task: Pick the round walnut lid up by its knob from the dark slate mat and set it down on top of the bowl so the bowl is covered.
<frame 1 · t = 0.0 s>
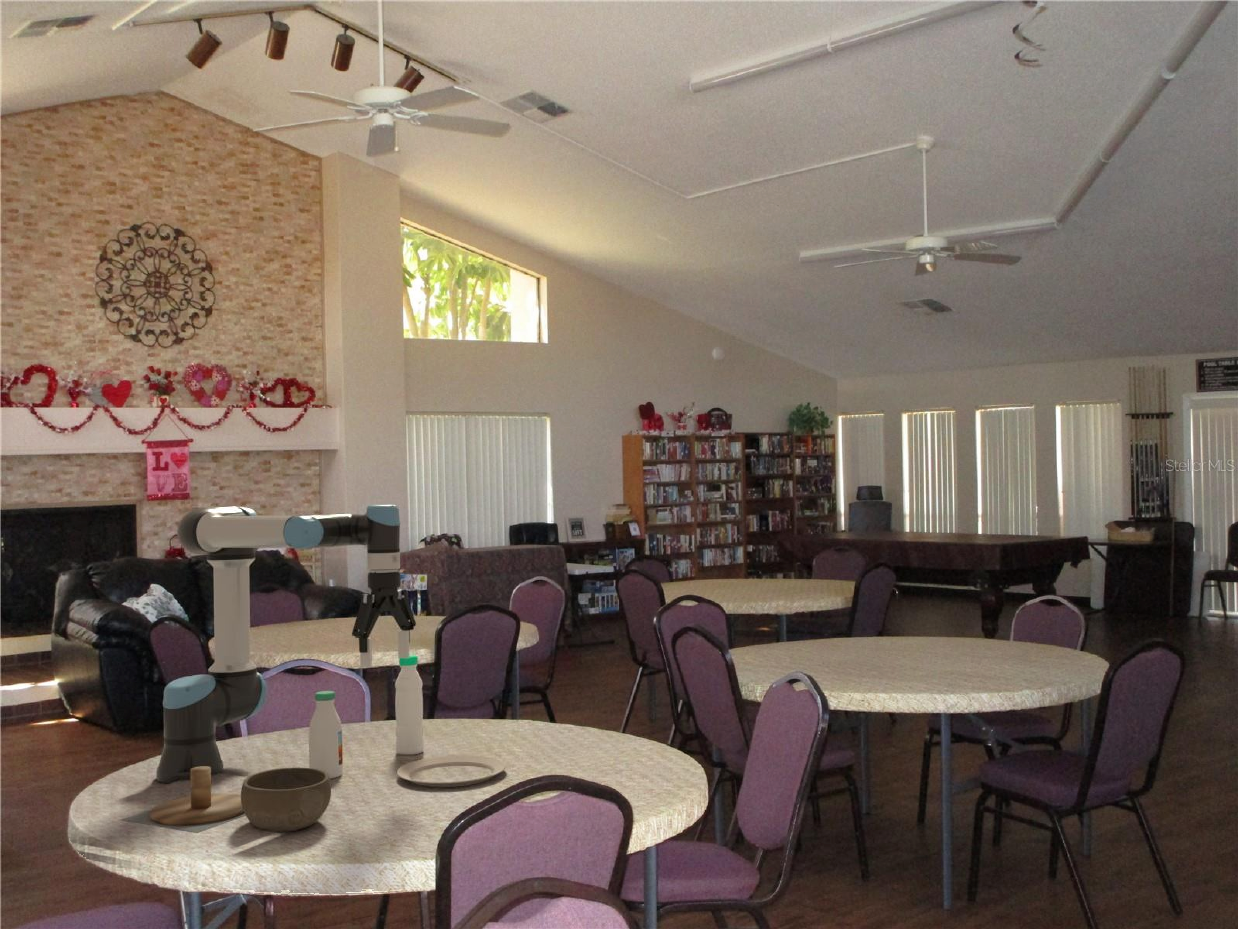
hand: (385, 662, 257), 28 cm above the table, fingers open, 13 cm apart
plate: (451, 777, 262), on the table
lid: (201, 811, 233), point 1 cm above the table, touching mat
bowl: (286, 827, 225), on the table
milk bottle: (326, 777, 264), on the table
water bottle: (409, 753, 287), on the table
mat: (201, 816, 233), on the table
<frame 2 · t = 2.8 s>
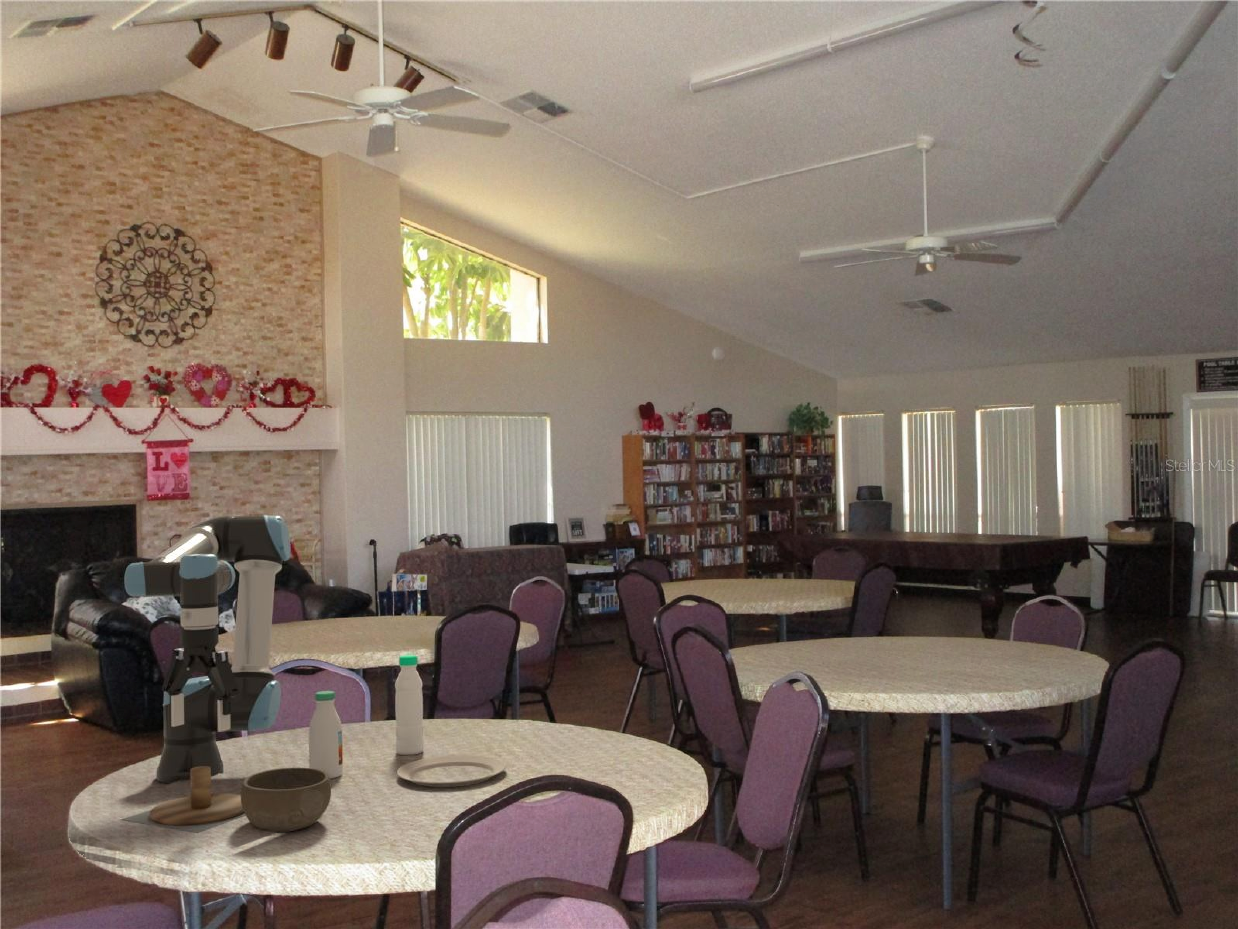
hand: (200, 728, 234), 19 cm above the table, fingers open, 13 cm apart
nothing on the table moved.
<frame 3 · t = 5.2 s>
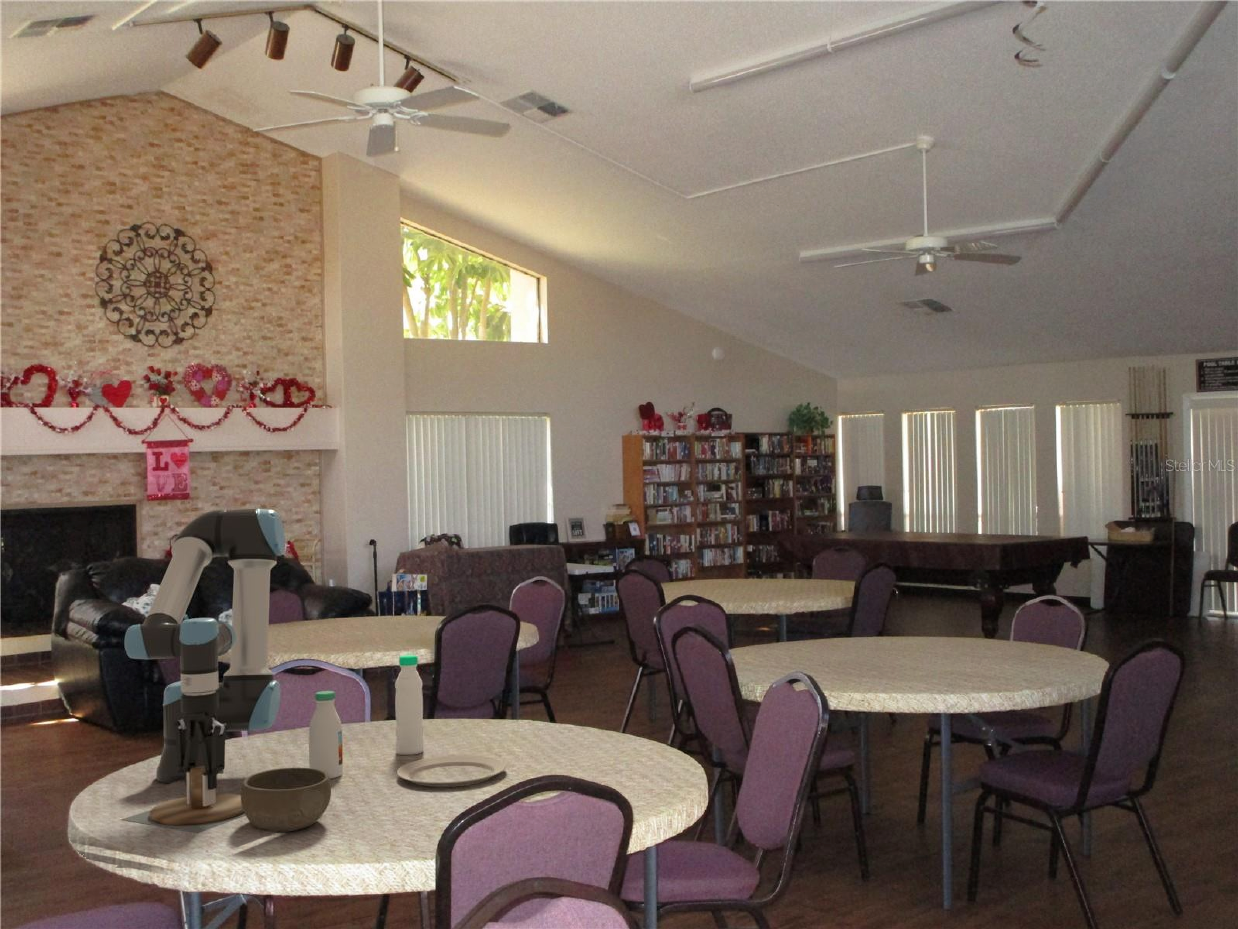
hand: (201, 803, 233), 3 cm above the table, fingers closed on lid, 4 cm apart
lid: (201, 811, 233), point 1 cm above the table, touching gripper, mat
everything else where it was.
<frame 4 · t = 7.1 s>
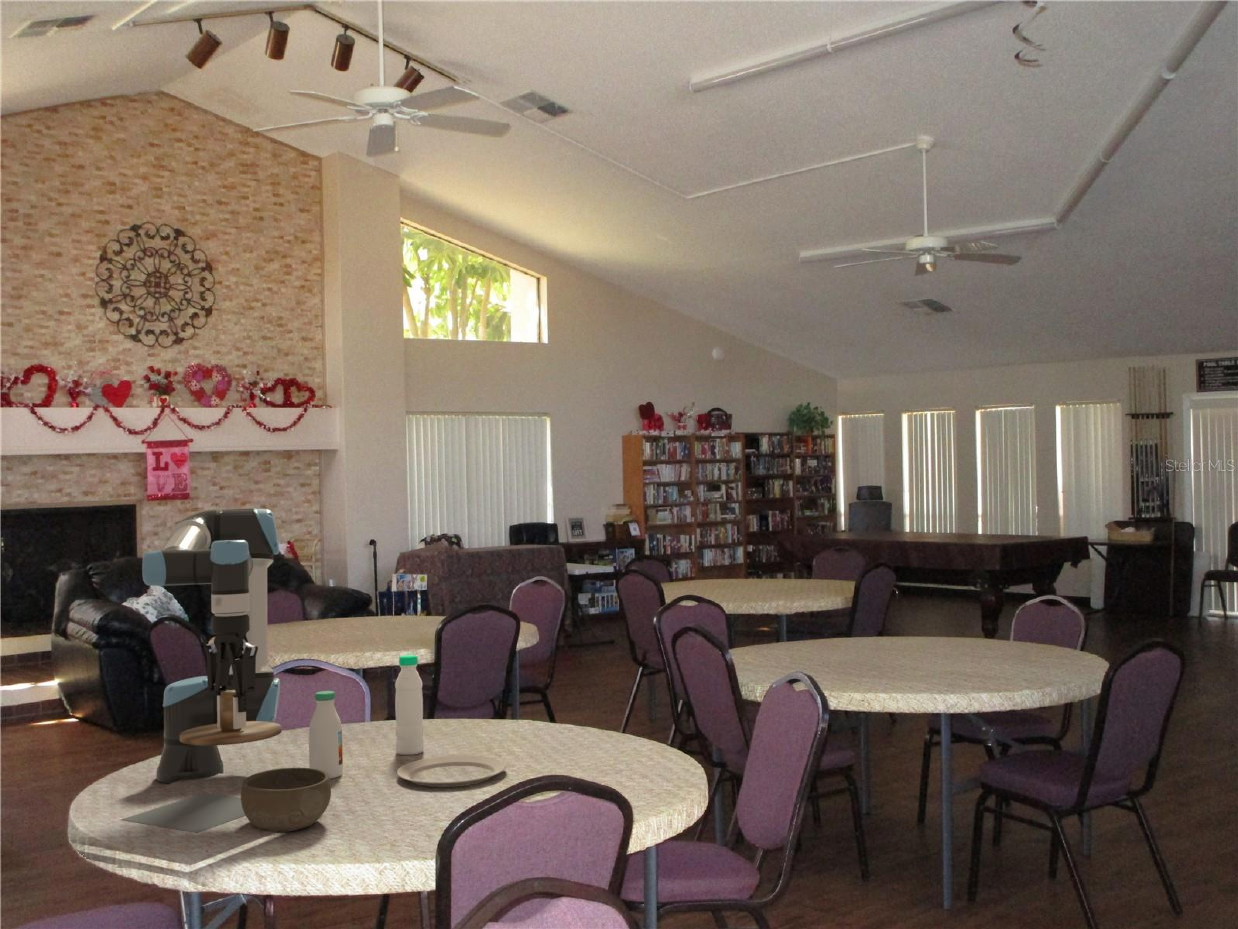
hand: (231, 726, 230), 19 cm above the table, fingers closed on lid, 4 cm apart
lid: (231, 735, 229), point 18 cm above the table, touching gripper
everything else where it was.
when the fingers open (14 cm above the table, at t = 9.3 s): lid drops 2 cm, resting on bowl.
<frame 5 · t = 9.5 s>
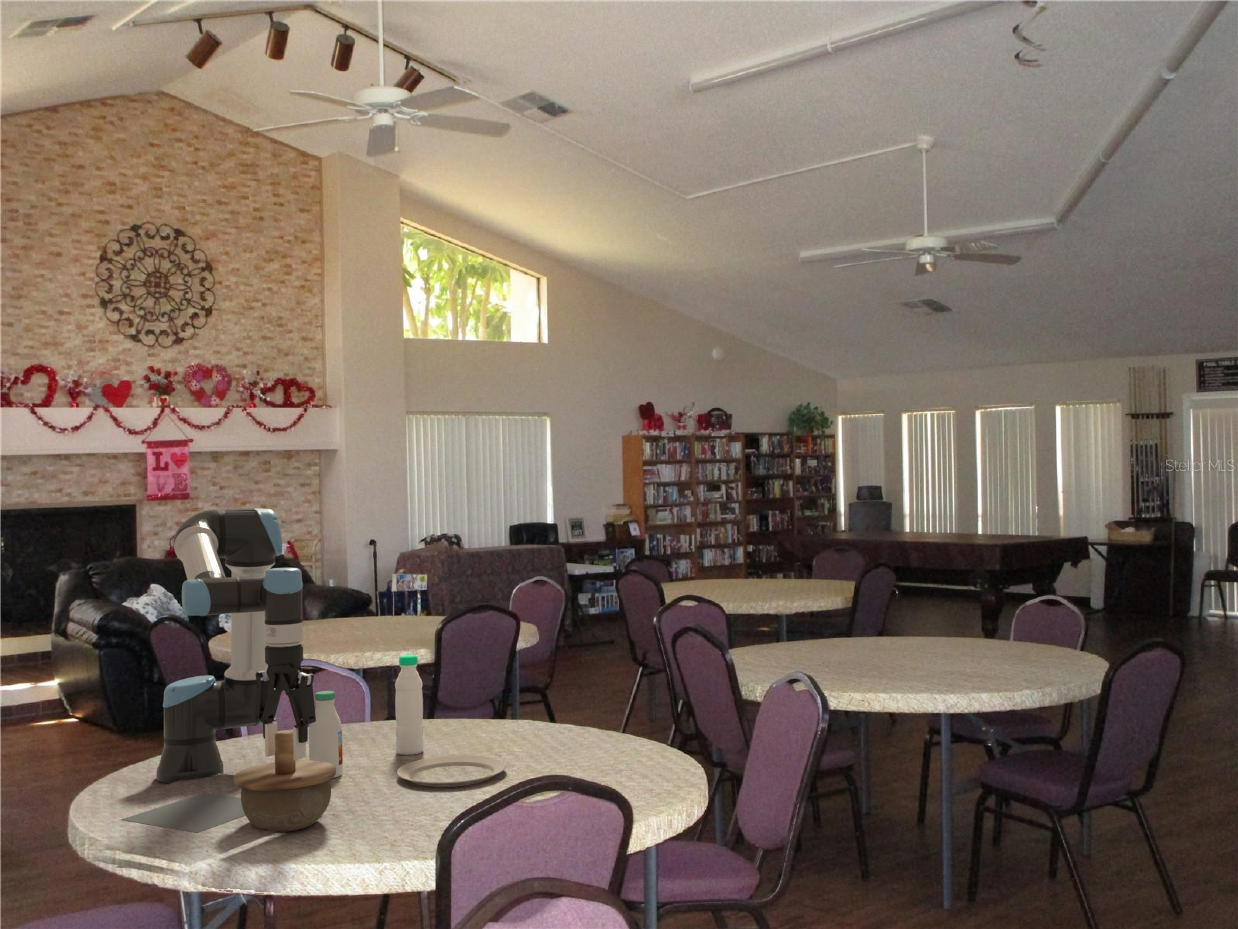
hand: (285, 756, 225), 14 cm above the table, fingers open, 7 cm apart
lid: (285, 777, 225), point 10 cm above the table, touching bowl
bowl: (286, 827, 225), on the table, touching lid
everything else where it was.
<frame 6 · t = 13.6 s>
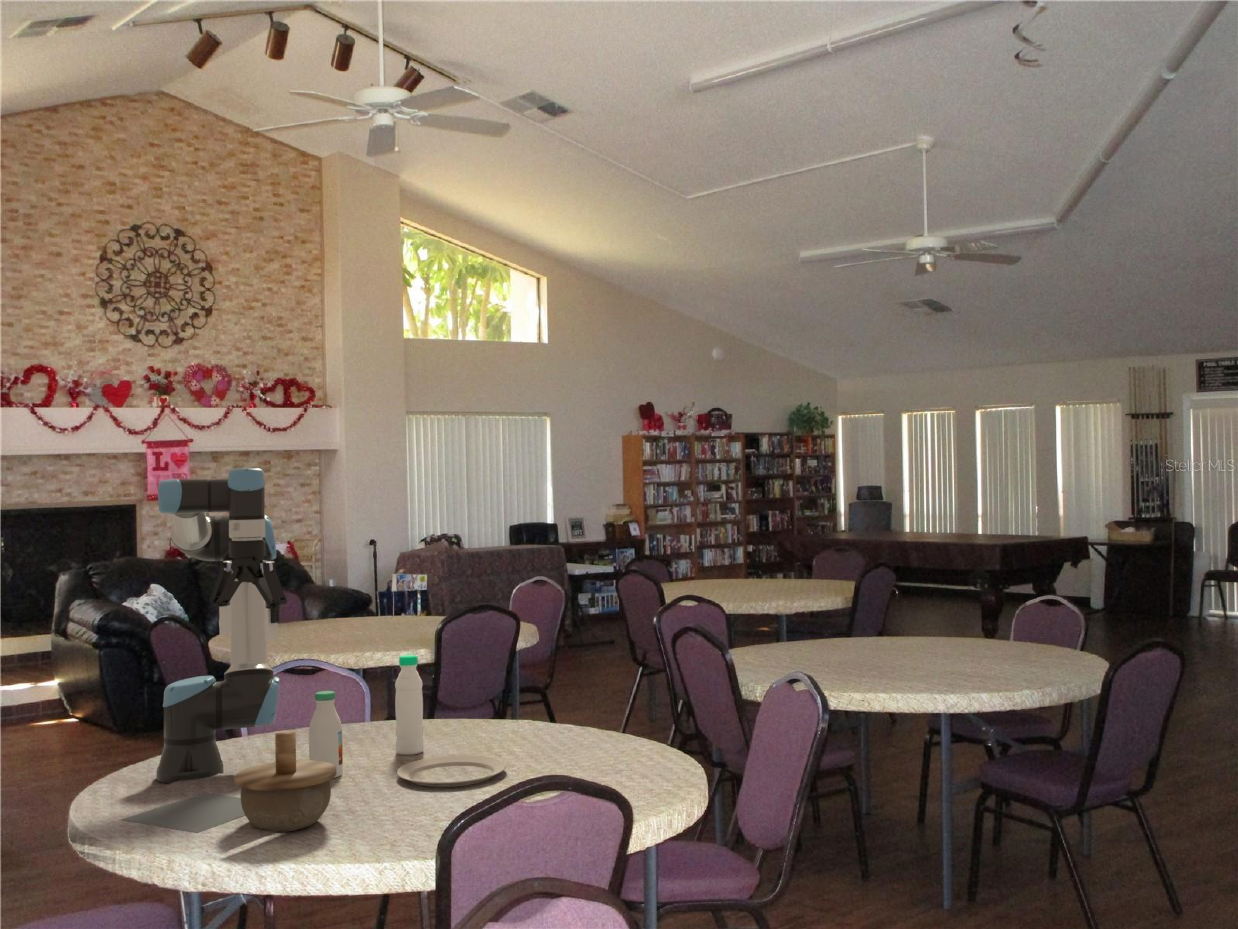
hand: (248, 637, 240), 37 cm above the table, fingers open, 13 cm apart
nothing on the table moved.
at the end: lid 0.1 cm from the bowl (horizontally); lid point 9.9 cm above the table; lid tilted 0° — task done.
